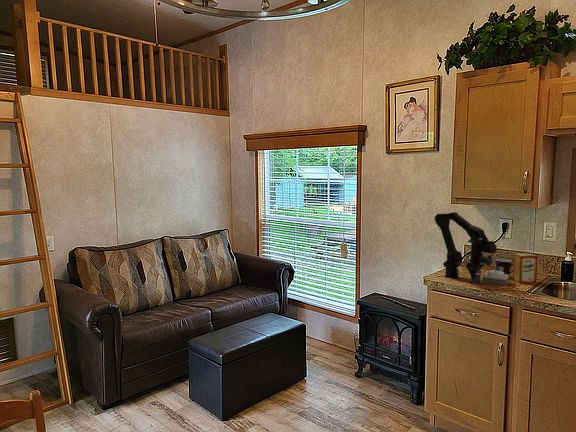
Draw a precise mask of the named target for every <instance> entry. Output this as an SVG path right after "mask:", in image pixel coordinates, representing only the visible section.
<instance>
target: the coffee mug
mask: <svg viewBox="0 0 576 432" xmlns="http://www.w3.org/2000/svg"><path fill="white" fill-rule="evenodd" d="M494 261H495V271H502V272H504V275H505V274H508V275H509V276H510V274H511V273H513V272H514V270H512V271H511V267H512V266H514V263H512V260H510V259H506V258H497V259H496V258H495V259H494Z"/></svg>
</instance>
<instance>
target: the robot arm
mask: <svg viewBox="0 0 576 432" xmlns="http://www.w3.org/2000/svg"><path fill="white" fill-rule="evenodd" d="M451 220H452V221H453V222H454V223H455V224H456V225H458V226H459V227H460V228H462V229H463V230H464V231H465V232H466V233H467V236H469V238H470V239H469V240H467V243H471V244H470V253H469V255H470V259H469V262H467V263H466V264H465V268H466V269H467V271H468V274H469V275H470V278H471V277H472V280H475V276H476V271H477V270H480V271H481V270H482V268H483V266H485V265H486V266H488V267H491V266H492V264H493V262H494V259H493V256H492V255H494V254H496V252H497V251H498V250H497V245H496V243H495V241H494V240H489V239H488V237H487V235H486V234H485V231H484V229H482V228H480V227H479V226H476V225H473V224H472V223H470V222H469V221H468V220H466V219H465V218H464V217H463V216H461V215H459V213H458V212H456V211H453V212H449V213H445V212H444V213H437V214H435V216H434V222H435V224H436V225H437V227H439V229H440V232H441V236H442V238H443V241H444V245H445V247H446V251H447V253H446V260H445V261H444V262H443V263H442V264H443V267H444V268H445V275H444V277H445V278H452V279H457V278H458V277H459V275H460V274H459V273H460V269H459V268H458V267H460V266H461V264H463V263H462V262H463V258H464V256H462V252H461V251H458V250H457V248H456V245H455V242H454V239H453V236H452V235H453V234H452V231H451V228H450V223H451ZM484 253H486V254H488V256H486V255H484ZM489 254H492V255H489Z"/></svg>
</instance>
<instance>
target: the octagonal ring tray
mask: <svg viewBox="0 0 576 432" xmlns="http://www.w3.org/2000/svg"><path fill="white" fill-rule="evenodd" d="M481 278H482V280H481V281H482V282H481V284H483V283H484V284H489V285H491V284H492V285H497V286H498V285H499V286H507V285H508V284H509V283H510V282H509V280H510V274H509V275H508V274H505V275H504V272H502V271H496V269H495V270H494V269H493V270H491V269H490V270H488V271H487V272H485V273H484V274H482V275H481Z"/></svg>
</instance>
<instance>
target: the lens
mask: <svg viewBox="0 0 576 432" xmlns="http://www.w3.org/2000/svg"><path fill="white" fill-rule="evenodd" d="M481 272H482V271H481V270H477V271H476V276H475V280H472V277H471V276H470V283H471V284H475V285H476V284H477V285H479V284H481V281H482V280H481V278H482V275H481V274H482V273H481Z"/></svg>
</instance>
